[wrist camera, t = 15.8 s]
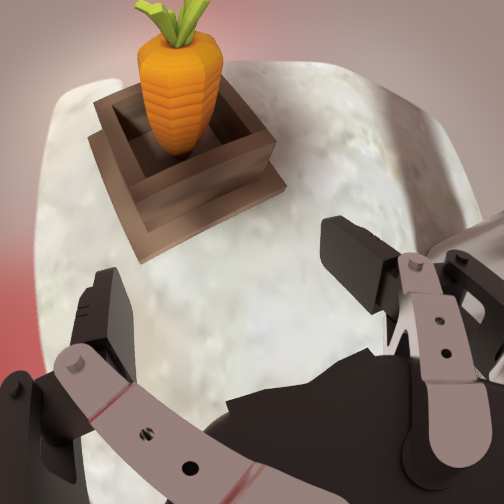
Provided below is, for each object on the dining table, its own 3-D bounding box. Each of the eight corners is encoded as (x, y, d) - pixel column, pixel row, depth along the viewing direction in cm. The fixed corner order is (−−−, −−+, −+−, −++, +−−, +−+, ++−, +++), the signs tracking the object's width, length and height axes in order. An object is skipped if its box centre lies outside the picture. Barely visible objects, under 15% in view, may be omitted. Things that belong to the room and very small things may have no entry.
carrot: (173, 194, 21) (159, 9, 7) (140, 154, 22) (112, -13, 8) (223, 161, 23) (258, -11, 9) (188, 126, 23) (197, -33, 9)
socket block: (211, 93, 26) (217, 48, 21) (283, 191, 24) (307, 151, 19) (90, 143, 22) (71, 100, 17) (141, 264, 20) (121, 238, 15)
